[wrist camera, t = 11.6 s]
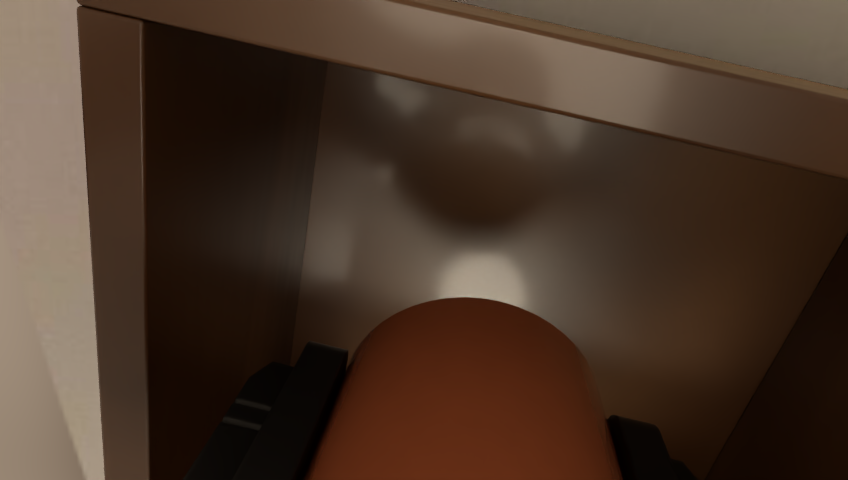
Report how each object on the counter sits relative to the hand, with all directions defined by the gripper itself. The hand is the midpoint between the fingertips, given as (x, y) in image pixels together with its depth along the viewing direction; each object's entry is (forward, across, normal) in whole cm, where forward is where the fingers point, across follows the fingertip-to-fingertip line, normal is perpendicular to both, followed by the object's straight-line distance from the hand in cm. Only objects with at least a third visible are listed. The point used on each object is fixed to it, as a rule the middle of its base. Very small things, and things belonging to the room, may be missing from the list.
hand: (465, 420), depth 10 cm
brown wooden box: (+7, -2, 0) cm, 7 cm away
